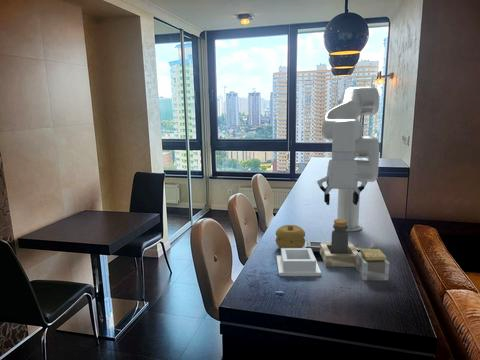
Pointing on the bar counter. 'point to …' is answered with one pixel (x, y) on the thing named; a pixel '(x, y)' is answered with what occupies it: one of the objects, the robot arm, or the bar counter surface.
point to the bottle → (339, 237)
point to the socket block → (355, 262)
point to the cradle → (297, 262)
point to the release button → (373, 255)
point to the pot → (290, 237)
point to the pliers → (366, 246)
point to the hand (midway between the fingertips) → (341, 204)
